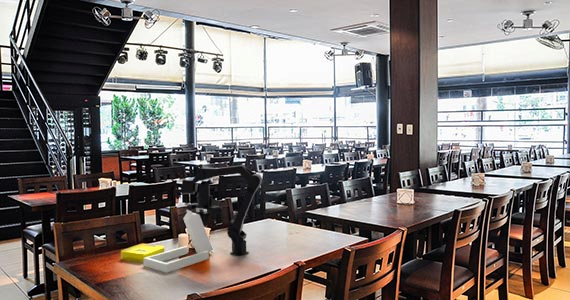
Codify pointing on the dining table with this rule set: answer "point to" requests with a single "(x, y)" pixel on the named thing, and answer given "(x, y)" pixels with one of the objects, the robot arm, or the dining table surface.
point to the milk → (197, 232)
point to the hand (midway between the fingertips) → (204, 226)
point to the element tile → (141, 252)
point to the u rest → (157, 259)
